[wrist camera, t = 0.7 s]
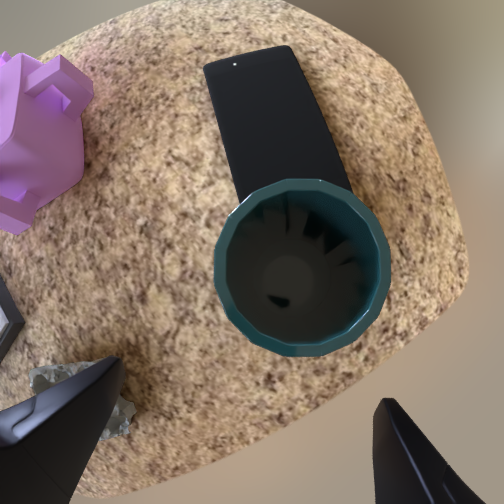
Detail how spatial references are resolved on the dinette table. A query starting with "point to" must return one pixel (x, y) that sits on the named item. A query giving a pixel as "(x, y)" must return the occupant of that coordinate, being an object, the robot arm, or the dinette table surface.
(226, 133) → the cell phone
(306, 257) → the tumbler
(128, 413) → the egg carton
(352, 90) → the dinette table surface
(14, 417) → the robot arm
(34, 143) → the teakettle
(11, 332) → the scale
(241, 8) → the dinette table surface
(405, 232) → the dinette table surface
